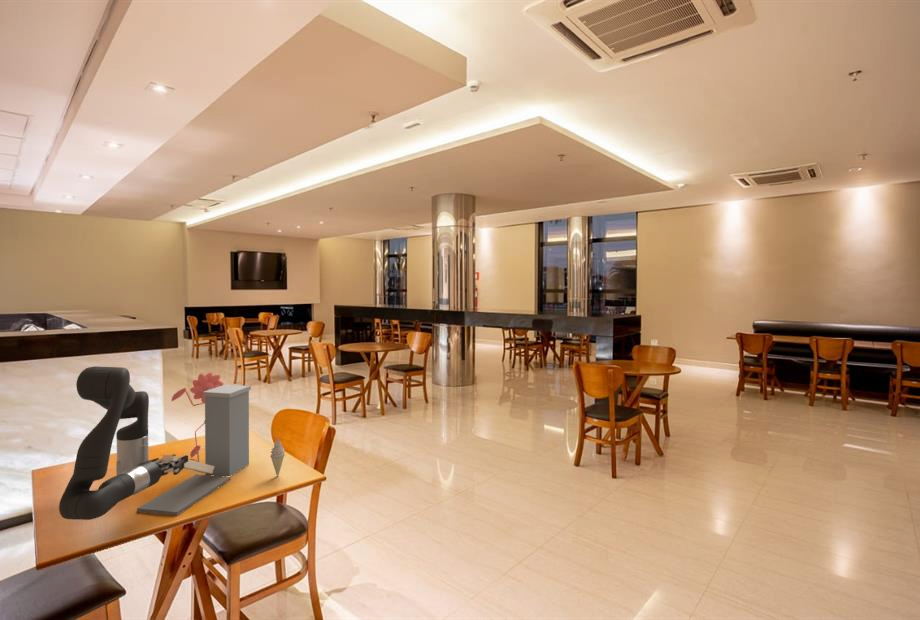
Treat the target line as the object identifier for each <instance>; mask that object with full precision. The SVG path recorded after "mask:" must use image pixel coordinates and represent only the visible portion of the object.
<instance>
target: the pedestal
mask: <svg viewBox="0 0 920 620" xmlns="http://www.w3.org/2000/svg"><path fill="white" fill-rule="evenodd" d="M251 390H252V387H251V385H243V384H242V385H241V384H239V385H238V384H223V385H222V386H219V387H216V388H213V389H210V390H207V391H204V392H203V396H205V403H204V415H205V416H204V421H205V424H204V430H205V431H204V435H205V436H204V438H205V439H204V444H205V445H204V447H205V448H204V452H205V453H204V454H205V455H204V456H205V457H204V458H205V460H204V461H205V462H204V464H208V465H211V466H215V467H214V470H213V473H204V475H210V476H211V475H214V476H231V475H232V476H234V475H235V474H237V473H238V472H240V471H241V470H240V469H242V468H243V469H245V468H246V467H248V466H249V465H248V464H250V391H251ZM247 465H248V466H247ZM245 466H246V467H245ZM244 467H245V468H244ZM243 469H242V470H243ZM239 470H240V471H239ZM237 471H238V472H237ZM236 472H237V473H236ZM234 473H235V474H234ZM233 474H234V475H233ZM232 476H231V477H232Z"/></svg>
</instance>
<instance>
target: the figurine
mask: <svg viewBox="0 0 920 620" xmlns="http://www.w3.org/2000/svg"><path fill="white" fill-rule="evenodd" d="M220 379H221V375H220V374H214V375H213V373H212V371H211V372H208V373H207V374H204V373H199V374H198V377H197V379H193V380H192V385H193V386H192V387H191V388H190V389H189V391H190V392H191V393H192V394H194V395H193V399H194V400H199V399H201V402H200V403H196V404H194V403H193V400H192V399H191V397H190V394H189V392H188V391H187V387H183V388H181V389H179V390H177V392H175V393H174V394H173V395H172V397H171V402H173V401H176V400H177V399H179V398H181V397H182V395H184V394H186V396H187V398H188V400H189V402H190V404H191V406H192V407H196V406H200V405H205V396H203V392H204V391H207V390H210V389H213V388H216V387H219V386H222V385H224V382H223V381H221V380H220ZM203 426H205V420H204V421H203V424H201V425H200V426H199V427H198V428H197V429H196V430H195V431H194V440H195V446H194V448H193V449H192V450H191V451H190V452H191V453H190V452H187V453H188V454H189V456H190V459H192V458H194V457H195V456H196V455H197V457H196V458H197V462H200V455H199V452H200V450H201V445H200V444H198V443H197V441H198V440H197V433H196V432H197V431H199V429H201V428H202V427H203Z"/></svg>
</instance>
